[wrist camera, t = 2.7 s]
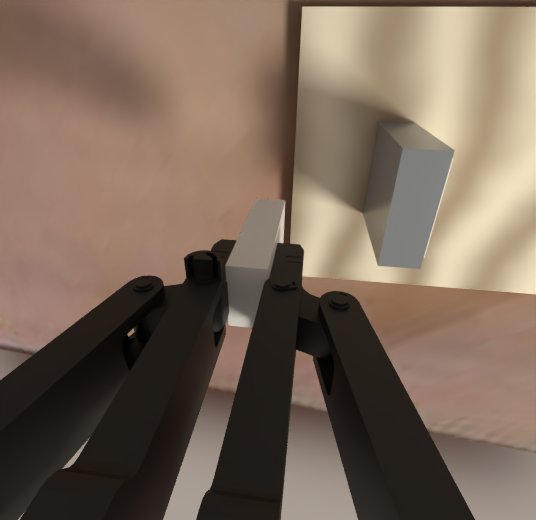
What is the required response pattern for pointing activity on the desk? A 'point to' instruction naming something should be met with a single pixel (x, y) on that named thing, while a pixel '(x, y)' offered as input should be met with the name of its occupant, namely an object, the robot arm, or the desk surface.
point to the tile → (404, 192)
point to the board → (432, 120)
